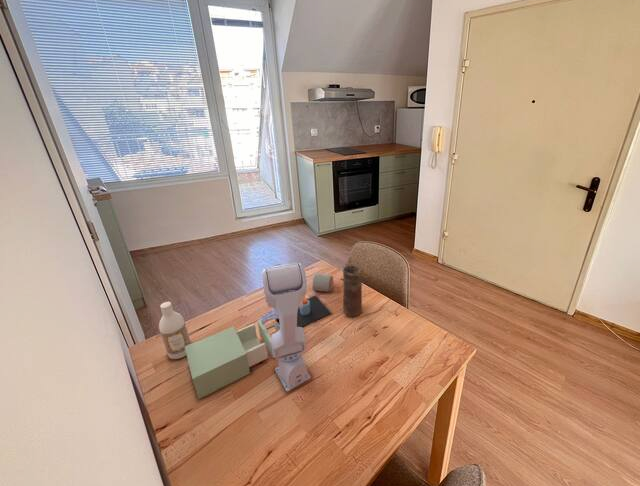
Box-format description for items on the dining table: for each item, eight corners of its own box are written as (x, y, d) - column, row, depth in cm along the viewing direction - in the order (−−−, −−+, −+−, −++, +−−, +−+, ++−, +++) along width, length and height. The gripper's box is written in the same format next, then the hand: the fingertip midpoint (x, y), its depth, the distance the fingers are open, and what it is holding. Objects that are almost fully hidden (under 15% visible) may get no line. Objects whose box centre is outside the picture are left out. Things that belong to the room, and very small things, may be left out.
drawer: (275, 327, 108) (273, 313, 105) (289, 349, 99) (287, 334, 96) (223, 350, 98) (219, 335, 95) (233, 377, 89) (230, 361, 86)
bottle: (312, 312, 117) (311, 300, 114) (302, 316, 115) (302, 304, 112) (307, 306, 120) (306, 295, 117) (298, 310, 117) (297, 299, 115)
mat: (330, 313, 117) (330, 312, 117) (293, 331, 108) (293, 330, 108) (315, 296, 126) (315, 295, 126) (279, 311, 118) (279, 310, 117)
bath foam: (169, 363, 94) (152, 315, 86) (167, 348, 99) (152, 302, 91) (193, 354, 98) (179, 307, 89) (190, 340, 103) (177, 294, 95)
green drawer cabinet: (237, 345, 102) (233, 326, 98) (250, 373, 92) (246, 353, 88) (190, 366, 94) (184, 346, 90) (198, 399, 84) (192, 378, 80)
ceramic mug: (330, 295, 127) (330, 280, 124) (312, 293, 128) (311, 279, 125) (334, 281, 137) (334, 267, 134) (317, 279, 137) (317, 265, 134)
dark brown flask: (340, 307, 120) (340, 266, 112) (356, 302, 123) (357, 262, 115) (347, 319, 114) (348, 277, 106) (364, 314, 117) (366, 272, 109)
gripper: (295, 286, 104) (297, 315, 110) (254, 301, 96) (259, 332, 102) (304, 296, 99) (306, 327, 105) (262, 313, 91) (267, 345, 97)
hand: (284, 330), depth 103 cm, fingers closed
